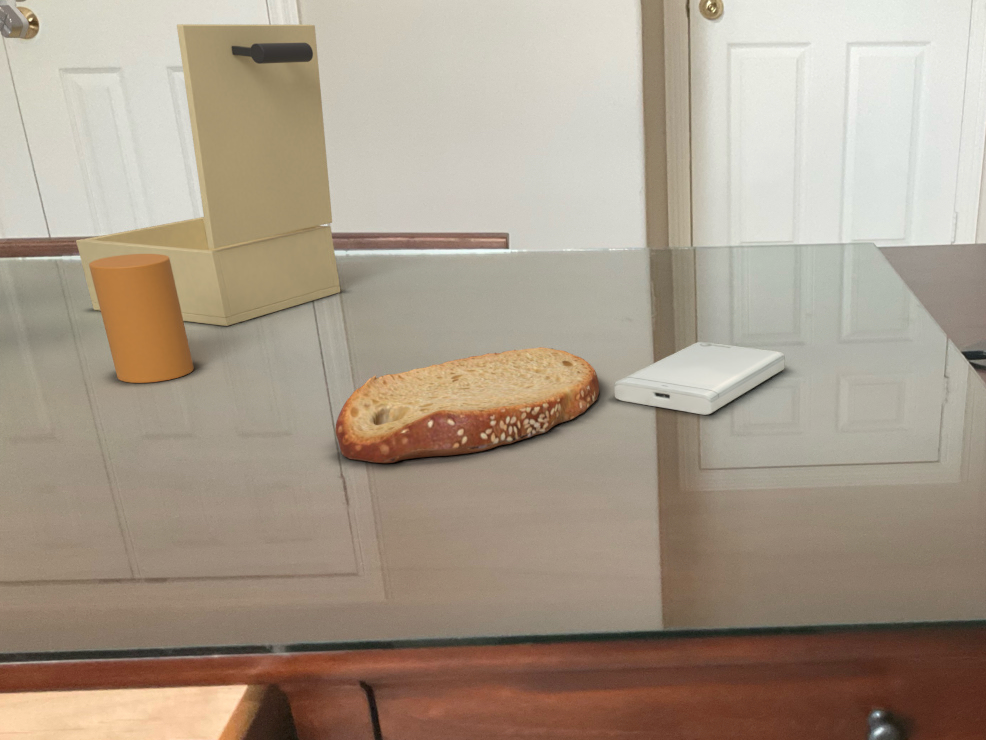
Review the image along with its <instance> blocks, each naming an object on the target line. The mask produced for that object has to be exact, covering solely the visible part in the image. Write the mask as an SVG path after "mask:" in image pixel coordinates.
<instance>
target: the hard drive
mask: <svg viewBox="0 0 986 740" xmlns="http://www.w3.org/2000/svg"><path fill="white" fill-rule="evenodd" d="M785 360H786V358H785V354H784V353H783V352H780V351H776V350H769V349H761V348H754V347H748V346H747V347H746V346H738V345H731V344H721V343H715V342H708V341H707V342H706V341H697V342H695V343H693V344H690V345H688V346H686V347H684V348H683V349H680V350H678V351H676V352H675V353H672V354H670V355H668V356H665V357H664V358H662V359H660V360H658V361H656V362H654V363H651V364H650V365H647V366H645V367H643V368H641V369H639V370H637V371H634V372H633V373H631V374H628V375H627V376H624V377H623V378H621V379H619V380H617V381H615V382H614V387H613V388H614V389H613V390H614V398H615V399H617V400H619V401H621V402H628V403H631V404H638V405H644V406H652V407H658V408H662V409H669V410H673V411H674V410H675V411H680V412H686V413H690V414H697V415H703V416H706V415H710V414H713V413H714V412H716V411H717V410H718V409H721V408H722V407H724V406H726V405H727V404H729V403H731V402H732V401H733V400H736V399H737V398H739V397H740V396H742V395H744V394H745V393H747V392H749V391H751V390H752V389H753V388H756V387H757V386H759V385H760V384H762V383H764V382H765V381H767V380H769V379H770V378H771V377H773V376H775V375H777V374H778V373H780V372H782V371H783V370H784V369H785V365H786V362H785Z"/></svg>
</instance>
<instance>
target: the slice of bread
mask: <svg viewBox="0 0 986 740" xmlns="http://www.w3.org/2000/svg"><path fill="white" fill-rule="evenodd" d="M599 394H600V383H599V378H598V374H597V372H596V370H595V368H594V367H593V366H592V365H591V364H590V363H589V362H588V361H587V360H585V359H584V358H582V357H581V356H578V355H575V354H573V353H570V352H568V351H566V350H561V349H554V348H550V347H549V348H548V347H541V346H540V347H531V348H523V349H512V350H507V351H506V350H505V351H502V352H498V353H497V352H493V353H490V352H488V353H485V354H482V355H481V354H480V355H473V356H469V357H463V358H458V359H453V360H447V361H445V362H442V363H440V364H432V365H429V366H426V367H420V368H419V367H417V368H414V369H410V370H408V371H403V372H398V373H392V374H391V373H390V374H384V375H381V376H378V377H377V374H375V375H374V376H372V377H369V379H368V380H367V381H366V382H365V383H364V384H363V385H361V386H360V387H357V388H356V390H354V391H353V392H352V394H351V395H350V396H349V397H348V398H347V399H346V401H345V402H344V404H343V406H342V408H341V410H340V412H339V414H338V416H337V419H336V423H335V429H334V431H335V436H336V439H337V442H338V445H339V450H340V452H341V454H342V455H343V456H344V457H345V458H347V459H350V460H355V461H363V462H369V463H375V464H376V463H377V464H392V463H396V462H399V461H404V460H409V459H419V458H426V457H427V458H428V457H447V456H457V455H464V454H472V453H473V454H474V453H478V452H479V453H480V452H483V451H488V450H491V449H493V448H496V447H499V446H505V445H510V444H514V443H515V442H519V441H522V440H526V439H530V438H531V437H532V438H533V437H534V436H538V435H541V434H545V433H547V432H548V431H550V430H551V429H552V428H553V427H555V426H556V425H557V426H558V424H562V423H564V422H568V421H571V420H574V419H575V418H577V417H578V416H580V415H582V414H584V413H585V412H586V411H587V410H588V408H590V406H592V405H593V404H594V403H595V402H596V401H597V400H598V397H599Z"/></svg>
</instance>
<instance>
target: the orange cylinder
mask: <svg viewBox="0 0 986 740" xmlns="http://www.w3.org/2000/svg"><path fill="white" fill-rule="evenodd" d="M89 267H90V271H91V275H92V279H93V283H94V287H95V291H96V295H97V299H98V303H99V307H100V314H101V318H102V322H103V326H104V330H105V334H106V338H107V341H108V345H109V349H110V355H111V358H112V361H113V366H114V370H115V373H116V377H117V379H118V380H119V381H121V382H124V383H131V384H146V383H147V384H148V383H157V382H165V381H171V380H174V379H178V378H181V377H184V376H186V375H189V374H190V373H192V372H193V371H194V369H195V368H194V367H195V366H194V363H193V358H192V353H191V350H190V345H189V340H188V335H187V331H186V326H185V321H183V317H182V313H181V308H180V304H179V299H178V295H177V290H176V285H175V281H174V276H173V272H172V267H171V263H170V258H169V257H168V256H166V255H161V254H131V255H120V256H113V257H107V258H102V259H98V260H95V261H92V262H91V263H89Z"/></svg>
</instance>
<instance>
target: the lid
mask: <svg viewBox="0 0 986 740" xmlns="http://www.w3.org/2000/svg"><path fill="white" fill-rule="evenodd" d="M176 30H177V38H178V44H179V52H180V58H181V65H182V71H183V72H182V73H183V79H184V85H185V87H184V88H185V93H186V99H187V108H188V114H189V120H190V129H191V135H192V143H193V150H194V157H195V164H196V170H197V178H198V184H199V193H200V199H201V207H202V213H203V217H204V221H205V228H206V235H207V242H208V247H209V248H218V247H223V246H228V245H232V244H237V243H241V242H246V241H250V240H255V239H260V238H264V237H269V236H273V235H278V234H282V233H287V232H292V231H296V230H301V229H305V228H310V227H315V226H325V225H328V224H332V223H333V215H332V213H333V212H332V203H331V193H330V192H331V191H330V182H329V181H330V180H329V171H328V170H329V169H328V157H327V149H326V148H327V147H326V146H327V145H326V133H325V124H324V113H323V102H322V92H321V80H320V67H319V58H318V56H319V55H318V46H317V36H316V35H317V34H316V25H315V24H267V23H266V24H258V23H257V24H254V23H253V24H250V23H249V24H237V23H236V24H235V23H234V24H232V23H231V24H228V23H227V24H224V23H223V24H220V23H219V24H218V23H217V24H210V23H209V24H207V23H206V24H203V23H201V24H199V23H198V24H194V23H193V24H192V23H191V24H189V23H187V24H186V23H185V24H183V23H182V24H176Z"/></svg>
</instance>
